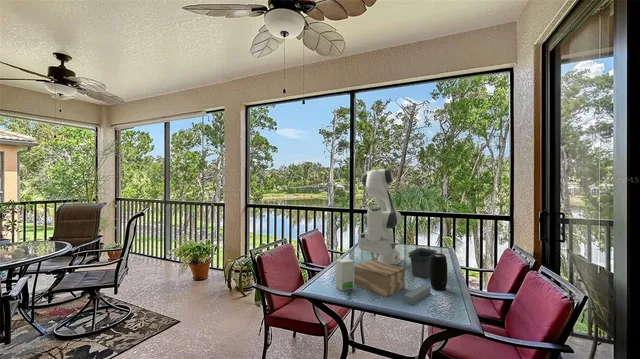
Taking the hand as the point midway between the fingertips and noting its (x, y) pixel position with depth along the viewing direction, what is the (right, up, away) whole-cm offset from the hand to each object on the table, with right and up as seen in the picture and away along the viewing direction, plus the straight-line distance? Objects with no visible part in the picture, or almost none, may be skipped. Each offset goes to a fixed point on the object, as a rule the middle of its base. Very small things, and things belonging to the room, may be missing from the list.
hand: (374, 260), depth 151 cm
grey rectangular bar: (+20, -16, -11) cm, 28 cm away
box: (+3, -16, +3) cm, 17 cm away
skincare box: (-17, -16, +1) cm, 23 cm away
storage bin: (+36, -16, +25) cm, 47 cm away
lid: (+3, -6, +3) cm, 7 cm away
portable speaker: (+36, -16, +1) cm, 40 cm away
